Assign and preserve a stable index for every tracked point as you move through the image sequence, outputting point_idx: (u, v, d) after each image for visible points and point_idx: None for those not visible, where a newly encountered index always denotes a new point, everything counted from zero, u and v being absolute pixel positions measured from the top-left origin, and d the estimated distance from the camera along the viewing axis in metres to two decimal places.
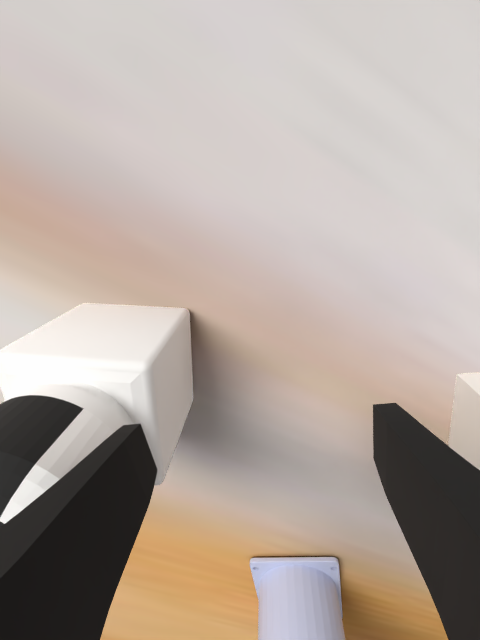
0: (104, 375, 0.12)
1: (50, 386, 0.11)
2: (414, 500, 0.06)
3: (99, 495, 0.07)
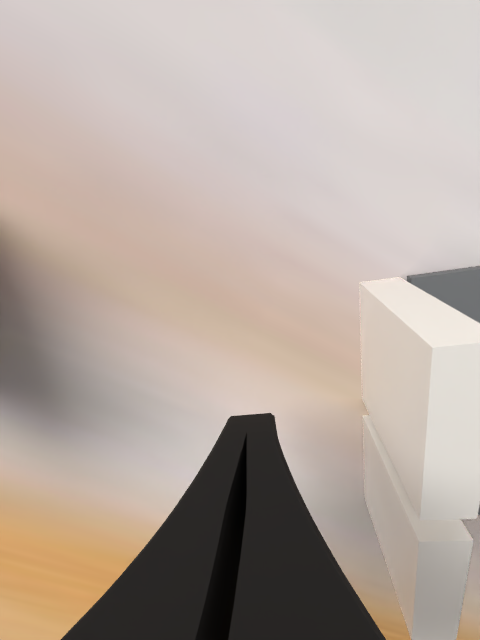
0: None
1: None
2: None
3: (240, 489, 0.07)
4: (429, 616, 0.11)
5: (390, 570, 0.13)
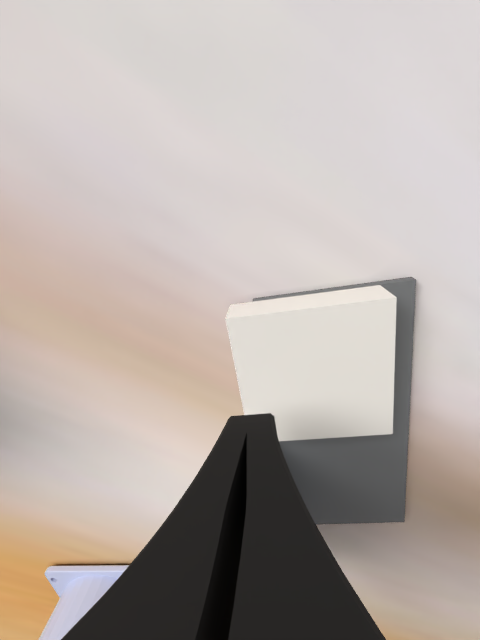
0: None
1: None
2: None
3: (240, 489, 0.07)
4: None
5: None
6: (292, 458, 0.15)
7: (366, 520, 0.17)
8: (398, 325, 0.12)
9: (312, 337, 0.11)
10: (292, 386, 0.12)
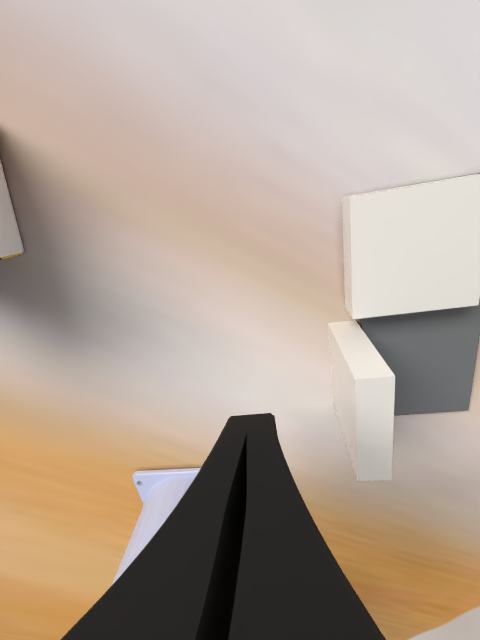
0: None
1: None
2: None
3: (240, 489, 0.07)
4: (369, 454, 0.14)
5: (346, 440, 0.16)
6: None
7: (434, 410, 0.19)
8: None
9: (421, 212, 0.13)
10: (398, 261, 0.14)
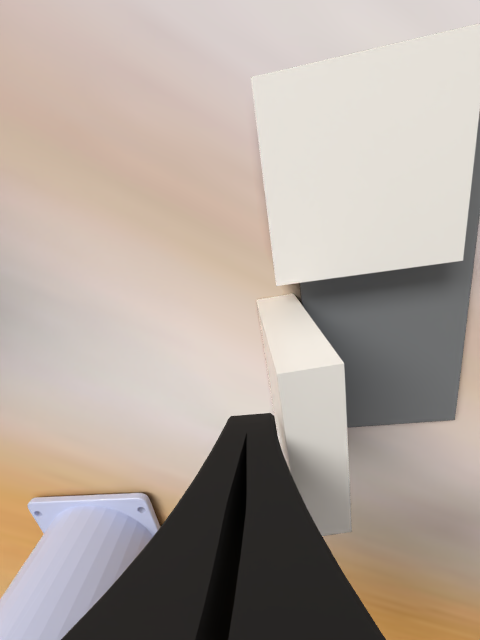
0: None
1: None
2: None
3: (240, 489, 0.07)
4: (314, 496, 0.08)
5: None
6: None
7: (408, 420, 0.14)
8: None
9: (367, 102, 0.08)
10: (335, 189, 0.09)
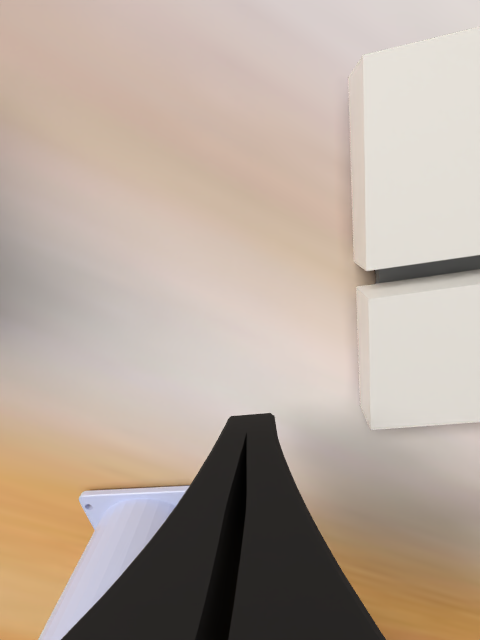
0: None
1: None
2: None
3: (240, 489, 0.07)
4: None
5: (470, 413, 0.12)
6: None
7: None
8: None
9: None
10: (439, 170, 0.09)
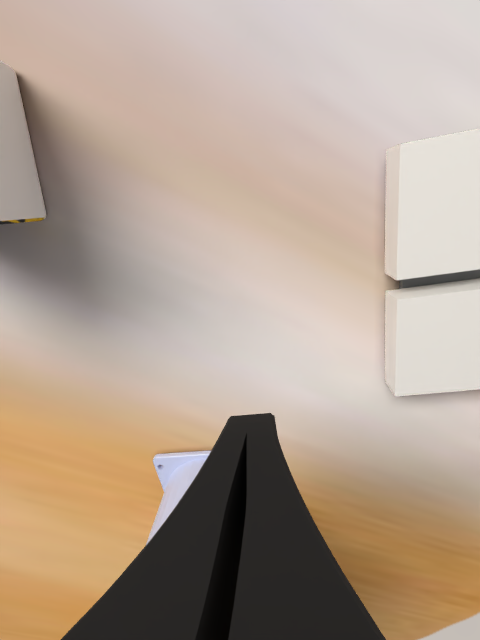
0: None
1: None
2: None
3: (240, 489, 0.07)
4: None
5: (468, 382, 0.16)
6: None
7: None
8: None
9: (476, 159, 0.12)
10: (448, 214, 0.13)
